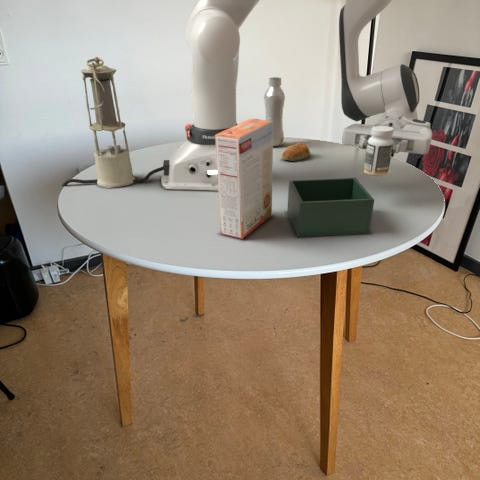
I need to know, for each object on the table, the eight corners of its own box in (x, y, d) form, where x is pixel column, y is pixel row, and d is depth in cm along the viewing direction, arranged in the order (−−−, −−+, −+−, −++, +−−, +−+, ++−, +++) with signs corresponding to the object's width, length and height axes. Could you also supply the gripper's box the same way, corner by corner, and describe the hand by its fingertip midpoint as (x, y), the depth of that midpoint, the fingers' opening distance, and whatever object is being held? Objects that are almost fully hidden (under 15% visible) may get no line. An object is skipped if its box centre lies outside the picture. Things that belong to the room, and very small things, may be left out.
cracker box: (249, 211, 108) (249, 117, 96) (272, 216, 106) (275, 120, 93) (218, 234, 99) (213, 132, 86) (242, 240, 96) (241, 136, 84)
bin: (297, 237, 97) (300, 203, 93) (287, 212, 108) (288, 180, 103) (368, 233, 98) (374, 199, 94) (351, 209, 109) (355, 177, 104)
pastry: (294, 164, 136) (295, 151, 134) (276, 160, 140) (276, 147, 138) (311, 156, 142) (312, 143, 140) (293, 152, 146) (294, 140, 143)
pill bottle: (389, 170, 108) (397, 126, 103) (387, 178, 104) (395, 132, 98) (364, 167, 110) (371, 124, 104) (361, 175, 106) (368, 130, 100)
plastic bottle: (284, 148, 149) (287, 79, 138) (263, 148, 150) (264, 80, 138) (283, 142, 155) (285, 76, 143) (263, 142, 155) (264, 76, 143)
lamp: (137, 174, 130) (120, 53, 113) (130, 191, 120) (109, 61, 102) (101, 175, 130) (78, 54, 112) (90, 192, 120) (62, 61, 102)
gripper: (351, 114, 115) (335, 127, 105) (437, 123, 107) (429, 138, 97) (348, 140, 118) (332, 155, 108) (431, 150, 111) (422, 167, 101)
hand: (379, 147), depth 103 cm, fingers closed on pill bottle, 5 cm apart
